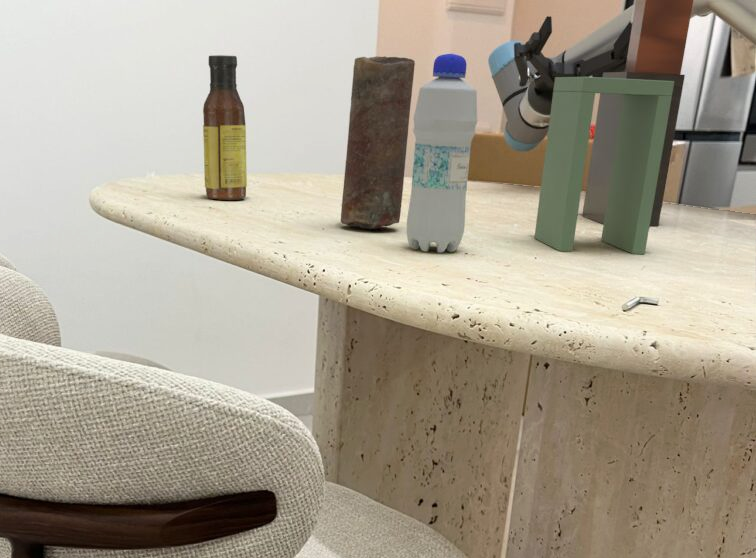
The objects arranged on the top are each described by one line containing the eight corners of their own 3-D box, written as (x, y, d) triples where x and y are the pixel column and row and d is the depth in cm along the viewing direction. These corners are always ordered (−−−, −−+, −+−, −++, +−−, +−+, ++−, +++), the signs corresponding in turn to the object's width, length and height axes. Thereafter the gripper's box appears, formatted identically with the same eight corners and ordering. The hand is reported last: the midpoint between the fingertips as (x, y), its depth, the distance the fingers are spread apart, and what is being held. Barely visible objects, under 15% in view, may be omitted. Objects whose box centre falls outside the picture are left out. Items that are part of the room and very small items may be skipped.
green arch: (612, 240, 117) (637, 81, 111) (644, 254, 108) (674, 81, 102) (534, 238, 117) (554, 77, 110) (559, 251, 107) (584, 76, 101)
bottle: (448, 256, 100) (469, 52, 93) (392, 249, 103) (407, 51, 96) (473, 250, 105) (494, 56, 98) (418, 242, 109) (435, 54, 101)
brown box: (655, 76, 142) (668, -3, 139) (680, 74, 126) (696, -16, 122) (614, 75, 143) (626, -4, 139) (634, 72, 127) (648, -17, 123)
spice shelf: (633, 217, 142) (657, 75, 135) (658, 226, 134) (685, 74, 127) (582, 215, 142) (603, 72, 134) (603, 224, 133) (627, 71, 126)
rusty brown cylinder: (411, 229, 119) (425, 57, 112) (383, 235, 113) (397, 54, 106) (358, 222, 123) (369, 56, 115) (329, 227, 117) (338, 52, 110)
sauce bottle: (251, 198, 144) (254, 57, 137) (239, 202, 138) (241, 55, 131) (210, 195, 145) (211, 55, 138) (196, 199, 139) (197, 53, 132)
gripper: (614, 118, 171) (668, 52, 150) (479, 112, 169) (515, 44, 148) (612, 80, 172) (665, 9, 152) (478, 73, 170) (513, 0, 150)
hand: (591, 26), depth 150 cm, fingers open, 13 cm apart
